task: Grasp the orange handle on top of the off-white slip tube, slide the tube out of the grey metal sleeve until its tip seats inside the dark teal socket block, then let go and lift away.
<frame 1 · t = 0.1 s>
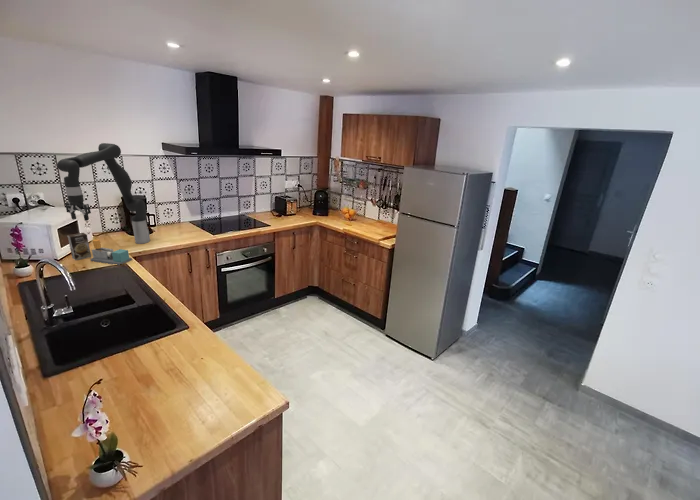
hand: (80, 219, 211), 29 cm above the counter, fingers open, 8 cm apart
coffee box: (82, 257, 228), on the counter
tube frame: (111, 260, 227), on the counter
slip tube: (103, 248, 225), point 8 cm above the counter, slide at 0.0 cm
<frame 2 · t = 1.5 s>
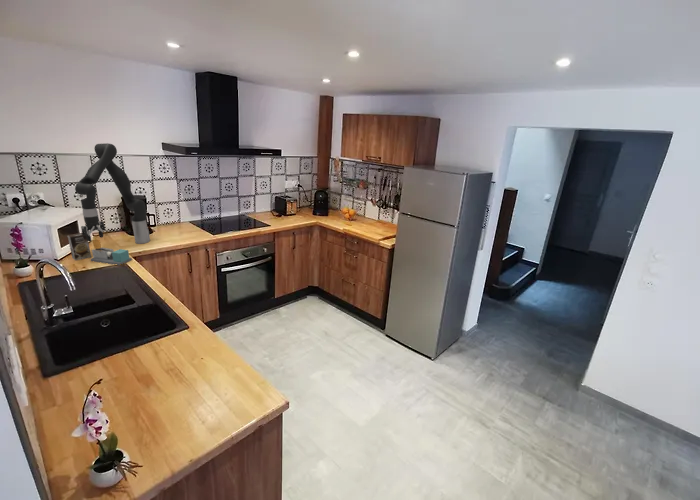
hand: (95, 239, 223), 14 cm above the counter, fingers open, 8 cm apart
nothing on the counter moved.
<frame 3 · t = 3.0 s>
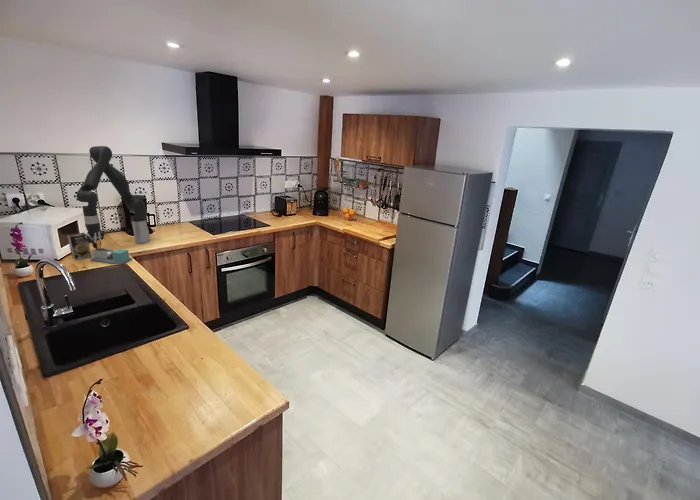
hand: (97, 247, 225), 8 cm above the counter, fingers closed on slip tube, 2 cm apart
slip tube: (103, 248, 225), point 8 cm above the counter, slide at 0.0 cm, touching gripper
everything else where it was.
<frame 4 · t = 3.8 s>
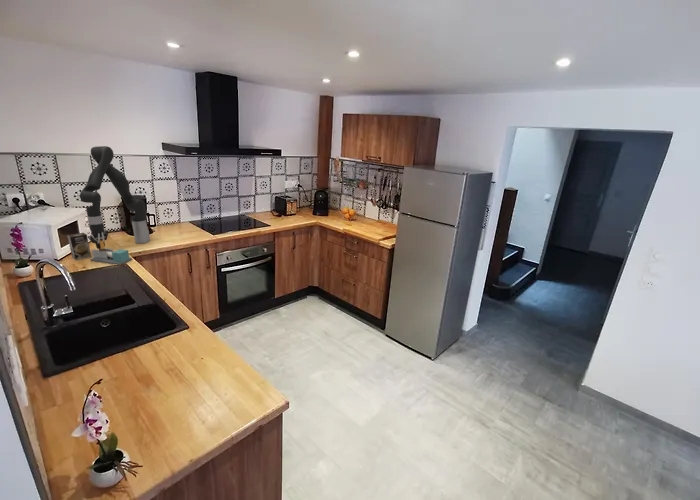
hand: (101, 247, 225), 8 cm above the counter, fingers closed on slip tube, 2 cm apart
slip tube: (107, 249, 224), point 8 cm above the counter, slide at 2.7 cm, touching gripper
everything else where it was.
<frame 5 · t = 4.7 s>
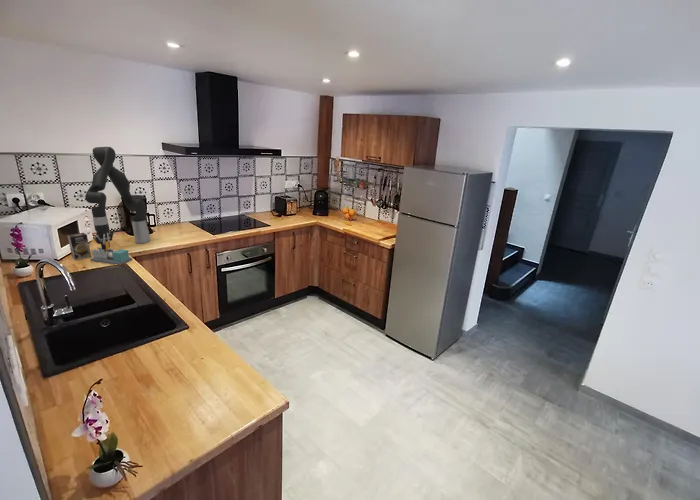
hand: (106, 248, 224), 8 cm above the counter, fingers closed on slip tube, 2 cm apart
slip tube: (112, 250, 224), point 8 cm above the counter, slide at 6.6 cm, touching gripper
everything else where it was.
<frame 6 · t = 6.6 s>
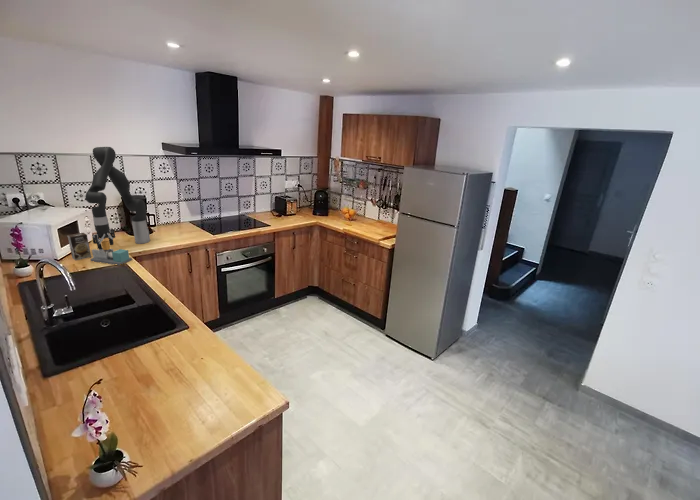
hand: (106, 246, 224), 9 cm above the counter, fingers open, 8 cm apart
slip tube: (112, 250, 224), point 8 cm above the counter, slide at 6.7 cm
everything else where it was.
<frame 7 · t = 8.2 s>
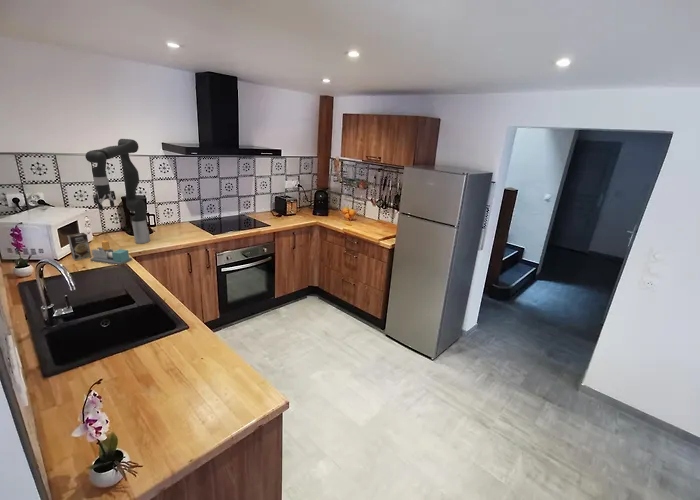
hand: (107, 208, 224), 33 cm above the counter, fingers open, 8 cm apart
nothing on the counter moved.
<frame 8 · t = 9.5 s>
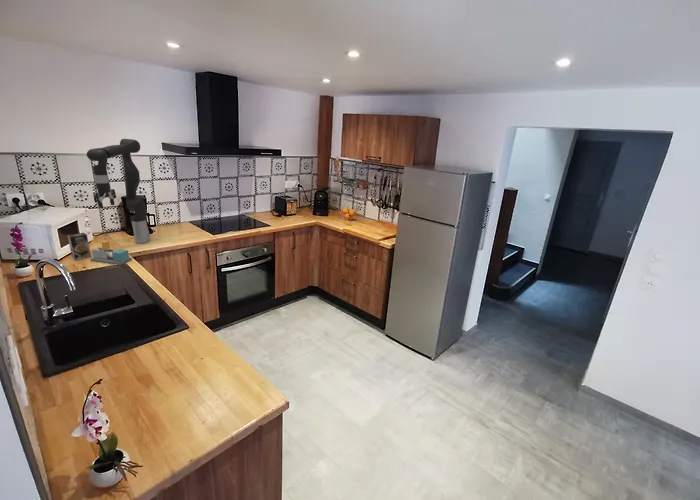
hand: (107, 206, 224), 34 cm above the counter, fingers open, 8 cm apart
nothing on the counter moved.
at the end: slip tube slide at 6.7 cm; the gripper is holding nothing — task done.
